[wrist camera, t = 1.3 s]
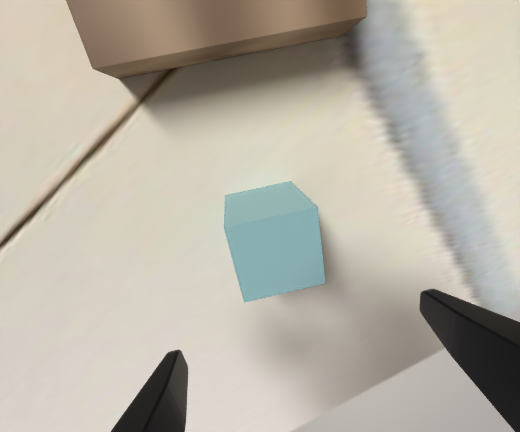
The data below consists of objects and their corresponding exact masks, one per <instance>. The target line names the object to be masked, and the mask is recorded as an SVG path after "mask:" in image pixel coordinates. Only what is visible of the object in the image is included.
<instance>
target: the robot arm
mask: <svg viewBox="0 0 520 432" xmlns="http://www.w3.org/2000/svg"><path fill="white" fill-rule="evenodd" d="M420 312H421V314H422V315H423V317H424V318H425V320H426V321H427V323H428V324H429V325H430V327H431V328H432V330H433V331H434V333H435V334H436V335H437V337H438V338H439V340H440V341H441V342H442V344H443V345H444V347H445V348H446V349H447V351H448V352H449V353H450V355H451V356H452V357H453V358H454V360H455V361H456V362H457V363H458V364H459V366H460V367H461V368H462V369H463V370H464V372H465V373H466V374H467V375H468V376H469V377H470V379H471V380H472V381H473V382H474V383H475V385H476V386H477V387H478V388H479V389H480V391H481V392H482V393H483V394H484V395H485V396H486V398H487V399H488V400H489V401H490V402H491V403H492V405H493V406H494V407H495V408H496V410H497V411H498V412H499V413H500V414H501V415H502V417H503V418H504V419H505V420H506V421H507V423H508V424H509V425H510V426H511V427H512V428H513V430H514V431H515V432H520V322H518V321H515V320H513V319H510V318H507V317H505V316H502V315H500V314H497V313H495V312H492V311H489V310H487V309H484V308H482V307H479V306H477V305H474V304H471V303H469V302H466V301H464V300H461V299H459V298H456V297H453V296H451V295H448V294H446V293H443V292H441V291H438V290H435V289H429V290H424V291H422V292H421V295H420ZM187 387H188V366H187V363H186V361H185V359H184V356H183V354H182V352H181V350H175V351H170V352H168V353H167V354H166V356H165V357H164V358H163V360H162V361H161V363H160V364H159V365H158V367H157V368H156V369H155V371H154V372H153V374H152V375H151V376H150V378H149V379H148V381H147V382H146V383H145V385H144V386H143V388H142V389H141V390H140V392H139V393H138V394H137V396H136V397H135V399H134V400H133V401H132V403H131V404H130V406H129V407H128V408H127V410H126V411H125V412H124V414H123V415H122V417H121V418H120V419H119V421H118V422H117V424H116V425H115V426H114V428H113V429H112V430H111V432H185V424H186V410H187Z"/></svg>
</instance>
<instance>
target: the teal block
mask: <svg viewBox="0 0 520 432" xmlns="http://www.w3.org/2000/svg"><path fill="white" fill-rule="evenodd" d="M224 229H225V233H226V237H227V241H228V244H229V248H230V252H231V255H232V259H233V263H234V267H235V270H236V274H237V278H238V281H239V285H240V289H241V292H242V296H243V300H244V303H245V302H249V301H253V300H257V299H262V298H266V297H270V296H274V295H278V294H283V293H287V292H291V291H295V290H299V289H304V288H308V287H312V286H316V285H321V284H325V273H324V264H323V254H322V245H321V235H320V226H319V217H318V207H317V206H316V205H315V204H314V203H313V202H312V201H311V200H310V199H309V198H308V197H307V196H306V195H305V194H304V193H303V192H302V191H300V190H299V189H298V188H297V187H296V186H295V185H294V184H293V183H292V182H291V181H289V182H285V183H280V184H275V185H271V186H266V187H261V188H257V189H252V190H248V191H243V192H238V193H234V194H229V195H225V214H224Z"/></svg>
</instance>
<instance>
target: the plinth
mask: <svg viewBox="0 0 520 432" xmlns="http://www.w3.org/2000/svg"><path fill="white" fill-rule="evenodd" d="M66 1H67V4H68V6H69V9H70V12H71V14H72V17H73V19H74V22H75V24H76V27H77V30H78V32H79V35H80V37H81V40H82V42H83V45H84V48H85V50H86V53H87V55H88V58H89V60H90V63H91V66H92V68H93V69H95V70H97V71H100V72H102V73H105V74H107V75H110V76H112V77H115V78H117V79H121V78H126V77H131V76H136V75H141V74H147V73H152V72H157V71H162V70H167V69H172V68H178V67H183V66H188V65H193V64H198V63H203V62H209V61H214V60H219V59H224V58H229V57H234V56H240V55H245V54H250V53H255V52H260V51H266V50H271V49H276V48H281V47H286V46H291V45H297V44H302V43H307V42H312V41H317V40H322V39H328V38H333V37H338V36H342V35H343V34H345V33H346V32H347V31H348V30H350V29H351V28H352V27H354V26H355V25H356V24H357V23H359V22H360V21H361V20H363V19H364V18H365V17H367V12H366V0H66Z"/></svg>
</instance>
